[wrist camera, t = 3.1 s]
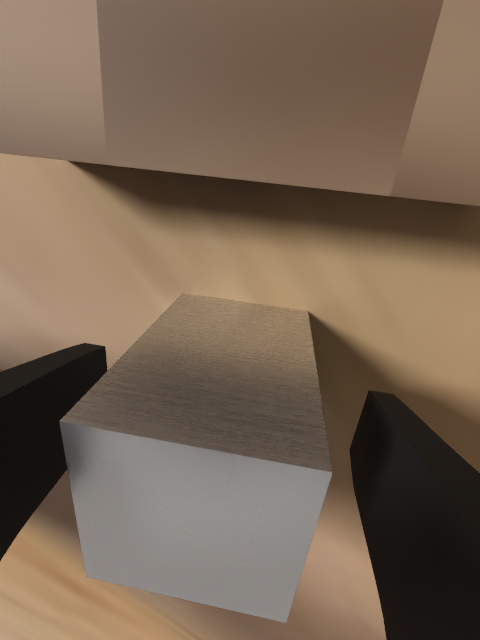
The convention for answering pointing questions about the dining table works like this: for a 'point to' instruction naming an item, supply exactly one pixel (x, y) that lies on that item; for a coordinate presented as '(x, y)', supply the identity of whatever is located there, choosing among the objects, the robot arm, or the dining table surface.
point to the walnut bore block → (251, 90)
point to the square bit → (204, 457)
